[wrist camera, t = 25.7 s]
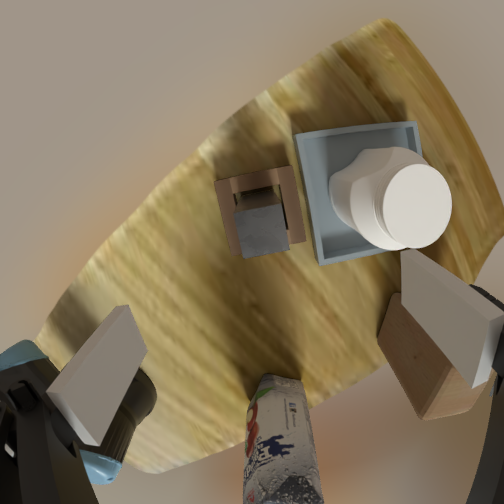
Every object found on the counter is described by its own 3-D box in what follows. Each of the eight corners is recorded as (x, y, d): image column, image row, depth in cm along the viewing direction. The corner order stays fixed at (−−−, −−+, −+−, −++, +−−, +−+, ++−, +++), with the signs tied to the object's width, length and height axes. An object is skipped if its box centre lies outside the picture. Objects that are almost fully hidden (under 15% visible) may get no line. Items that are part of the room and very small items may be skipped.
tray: (315, 259, 43) (319, 266, 40) (292, 136, 38) (295, 134, 35) (420, 236, 41) (430, 241, 38) (406, 122, 36) (416, 120, 33)
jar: (355, 240, 41) (400, 280, 27) (315, 188, 39) (347, 204, 25) (412, 192, 39) (474, 210, 24) (376, 138, 37) (432, 131, 22)
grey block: (248, 226, 41) (243, 258, 28) (241, 195, 40) (233, 213, 27) (279, 220, 41) (289, 249, 28) (273, 189, 40) (281, 203, 26)
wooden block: (390, 289, 44) (454, 362, 25) (437, 293, 44) (504, 356, 25) (373, 341, 47) (418, 424, 28) (419, 342, 47) (470, 413, 28)
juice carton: (309, 377, 49) (334, 510, 23) (287, 413, 52) (297, 534, 26) (261, 366, 49) (262, 508, 23) (243, 404, 52) (236, 530, 26)
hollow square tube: (233, 249, 42) (231, 256, 40) (217, 180, 40) (213, 181, 37) (303, 235, 42) (306, 241, 39) (289, 165, 39) (292, 165, 36)
